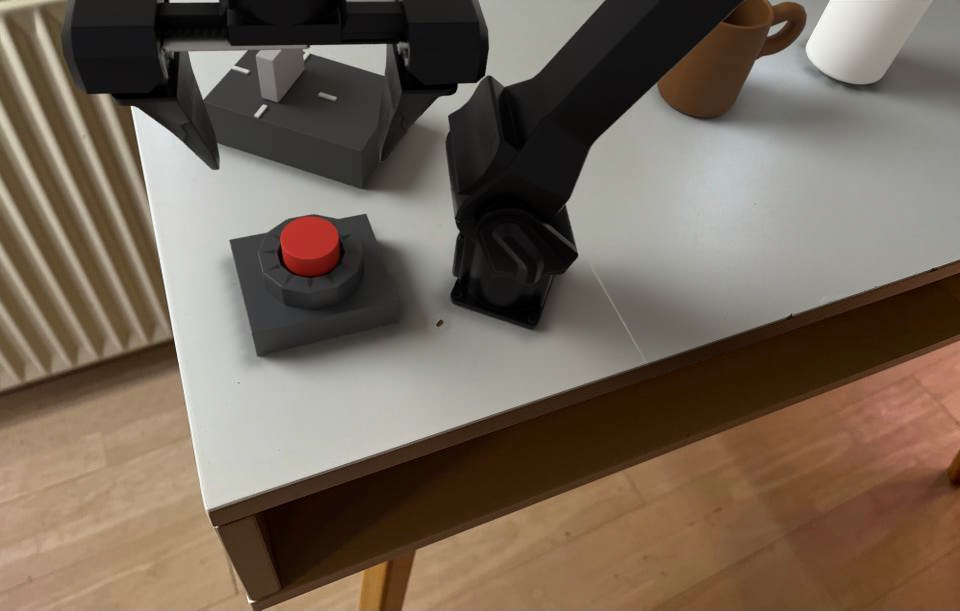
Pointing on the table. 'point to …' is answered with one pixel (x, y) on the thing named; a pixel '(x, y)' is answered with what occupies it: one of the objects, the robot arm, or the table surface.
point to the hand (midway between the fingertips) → (301, 160)
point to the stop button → (310, 246)
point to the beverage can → (862, 37)
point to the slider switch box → (303, 118)
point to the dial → (278, 71)
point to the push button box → (314, 288)
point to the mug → (730, 57)
